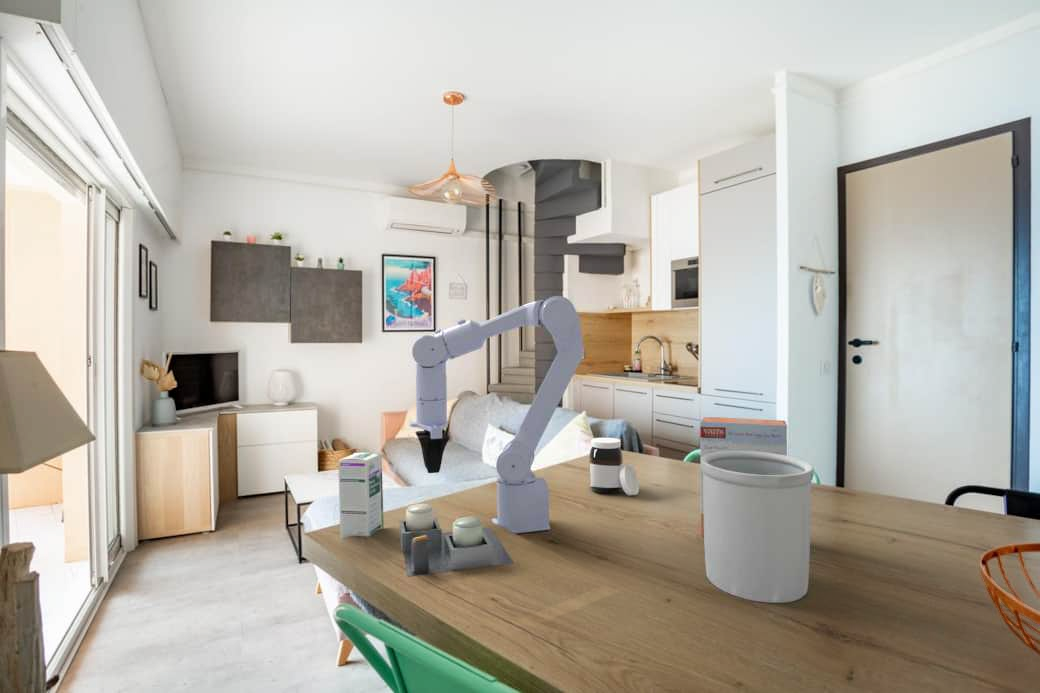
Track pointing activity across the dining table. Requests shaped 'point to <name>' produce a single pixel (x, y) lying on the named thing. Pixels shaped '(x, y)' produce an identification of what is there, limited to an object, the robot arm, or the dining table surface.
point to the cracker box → (740, 439)
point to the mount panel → (453, 550)
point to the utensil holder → (757, 524)
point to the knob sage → (467, 532)
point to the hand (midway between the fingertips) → (432, 469)
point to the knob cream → (419, 517)
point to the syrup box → (360, 494)
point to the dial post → (420, 554)
